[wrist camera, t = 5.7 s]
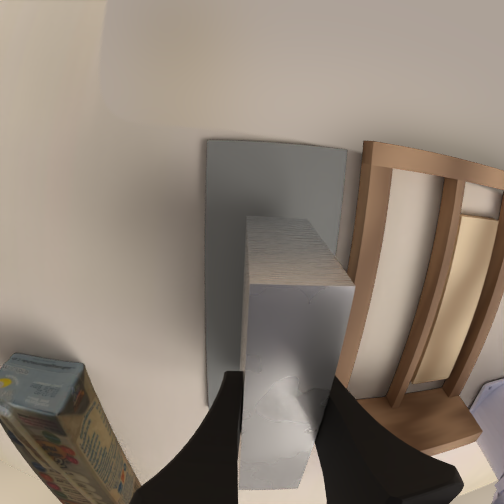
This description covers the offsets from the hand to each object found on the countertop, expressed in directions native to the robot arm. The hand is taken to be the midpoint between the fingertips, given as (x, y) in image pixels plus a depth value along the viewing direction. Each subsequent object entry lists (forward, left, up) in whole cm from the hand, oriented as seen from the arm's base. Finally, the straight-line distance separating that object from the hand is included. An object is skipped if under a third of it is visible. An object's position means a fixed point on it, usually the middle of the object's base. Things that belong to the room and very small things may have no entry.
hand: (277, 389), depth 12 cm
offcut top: (-14, 0, -7) cm, 15 cm away
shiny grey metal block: (0, 0, -5) cm, 5 cm away
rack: (-11, 0, -7) cm, 13 cm away
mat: (0, 0, -7) cm, 7 cm away
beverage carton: (+16, +15, -8) cm, 23 cm away
